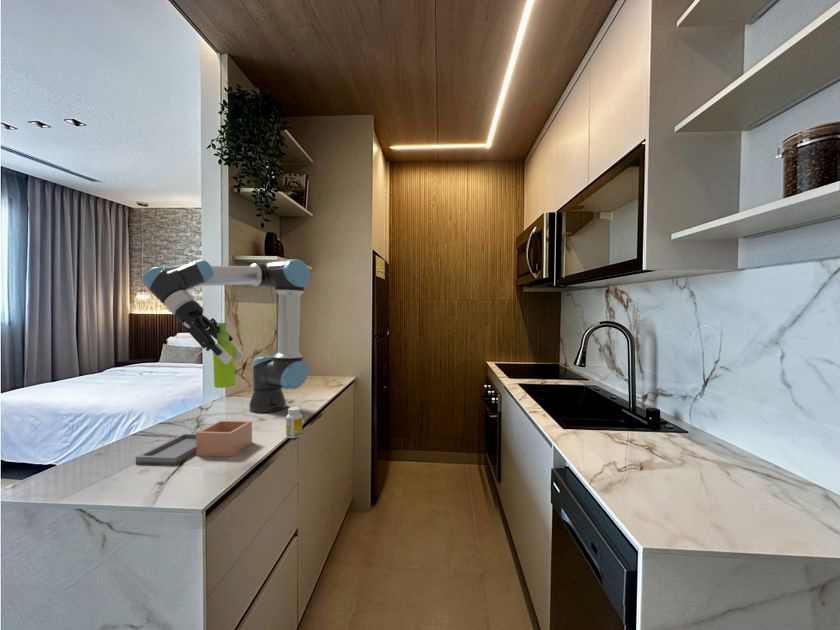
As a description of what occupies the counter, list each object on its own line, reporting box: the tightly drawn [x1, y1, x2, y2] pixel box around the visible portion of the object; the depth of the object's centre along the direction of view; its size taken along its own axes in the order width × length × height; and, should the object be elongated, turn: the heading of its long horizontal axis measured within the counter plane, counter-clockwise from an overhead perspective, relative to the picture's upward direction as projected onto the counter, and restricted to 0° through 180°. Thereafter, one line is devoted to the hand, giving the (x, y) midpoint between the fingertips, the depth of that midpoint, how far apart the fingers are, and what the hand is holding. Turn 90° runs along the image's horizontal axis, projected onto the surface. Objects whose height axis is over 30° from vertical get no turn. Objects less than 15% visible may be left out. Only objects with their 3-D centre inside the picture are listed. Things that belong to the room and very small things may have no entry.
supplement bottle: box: [285, 406, 303, 439], centre depth 133 cm, size 5×5×10 cm
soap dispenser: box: [212, 322, 236, 389], centre depth 120 cm, size 6×7×20 cm
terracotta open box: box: [195, 420, 253, 457], centre depth 121 cm, size 12×11×7 cm
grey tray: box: [135, 433, 197, 466], centre depth 119 cm, size 20×12×2 cm, turn 176°
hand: (235, 359), depth 120 cm, fingers closed on soap dispenser, 6 cm apart
